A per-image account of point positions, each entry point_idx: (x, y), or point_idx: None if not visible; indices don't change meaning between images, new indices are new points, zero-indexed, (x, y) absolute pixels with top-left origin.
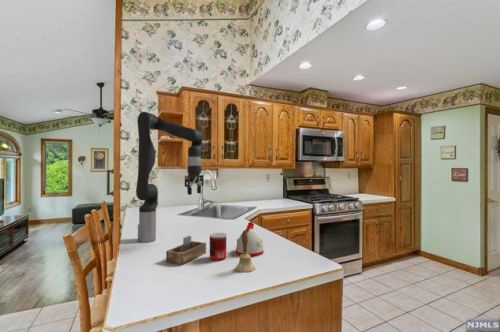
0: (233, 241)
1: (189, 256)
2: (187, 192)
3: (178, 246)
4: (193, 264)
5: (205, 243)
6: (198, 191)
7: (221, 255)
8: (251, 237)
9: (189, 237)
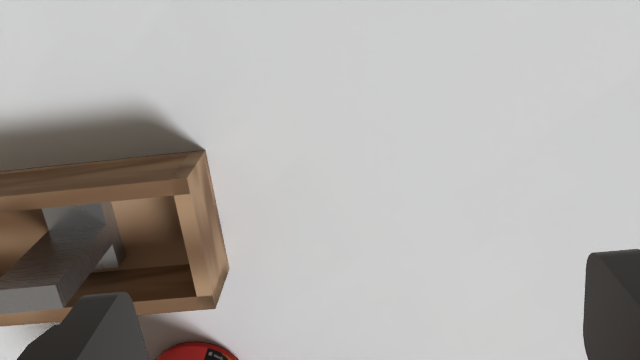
0: (569, 275)
1: None
2: (25, 350)
3: (21, 199)
4: (43, 327)
5: (208, 308)
6: (607, 332)
7: None
8: None
9: (43, 306)
